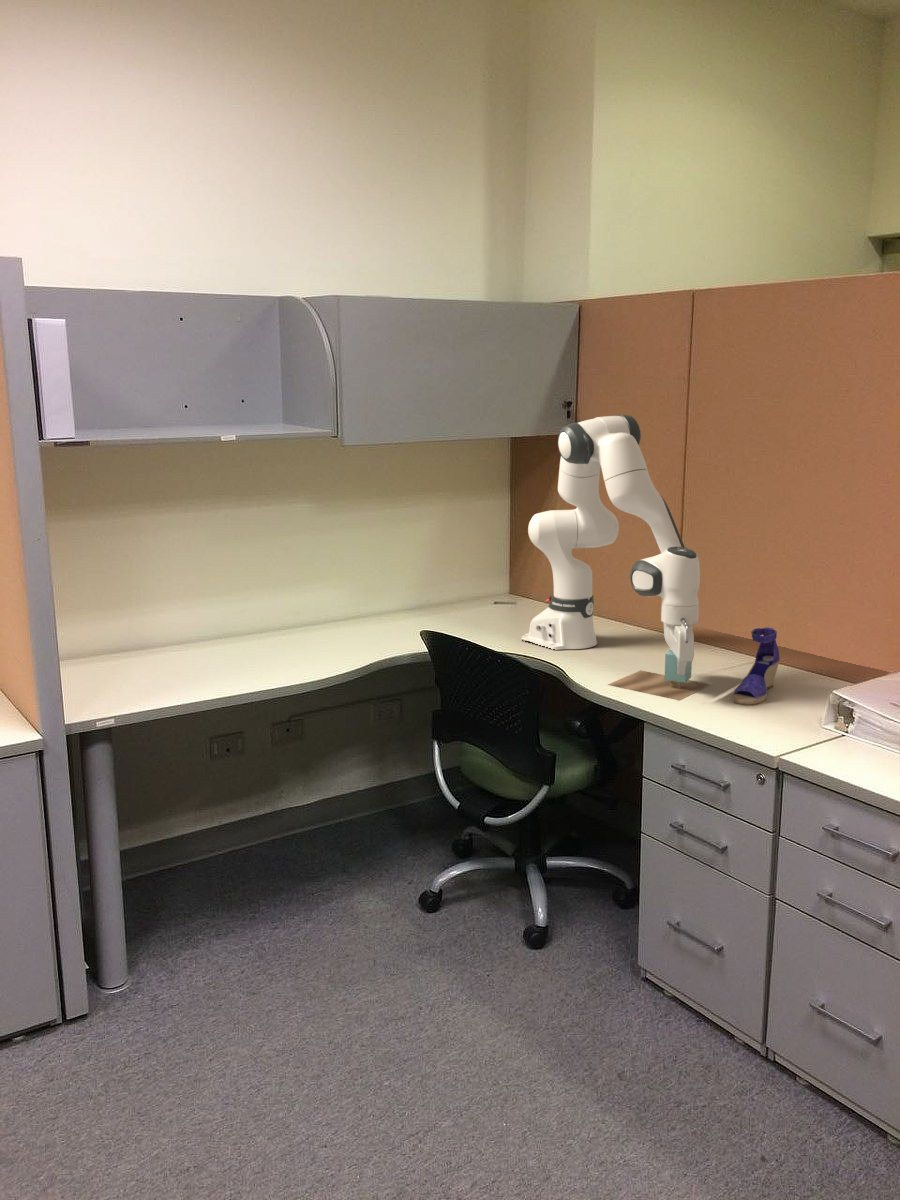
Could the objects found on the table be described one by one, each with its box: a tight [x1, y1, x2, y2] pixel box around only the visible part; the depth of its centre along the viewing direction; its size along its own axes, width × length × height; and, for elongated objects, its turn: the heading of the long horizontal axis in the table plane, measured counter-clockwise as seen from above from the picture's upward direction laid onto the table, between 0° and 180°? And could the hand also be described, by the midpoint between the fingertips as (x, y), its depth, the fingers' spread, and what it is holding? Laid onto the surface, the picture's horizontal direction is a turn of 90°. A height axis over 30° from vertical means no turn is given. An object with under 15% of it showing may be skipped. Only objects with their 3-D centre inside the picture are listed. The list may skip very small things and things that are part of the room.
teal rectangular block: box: [664, 650, 693, 683], centre depth 246 cm, size 5×5×7 cm
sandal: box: [732, 627, 780, 706], centre depth 240 cm, size 8×20×15 cm, turn 136°
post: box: [670, 681, 685, 688], centre depth 246 cm, size 3×3×6 cm
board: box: [607, 670, 712, 702], centre depth 248 cm, size 20×16×1 cm
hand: (677, 669), depth 246 cm, fingers closed on teal rectangular block, 7 cm apart
